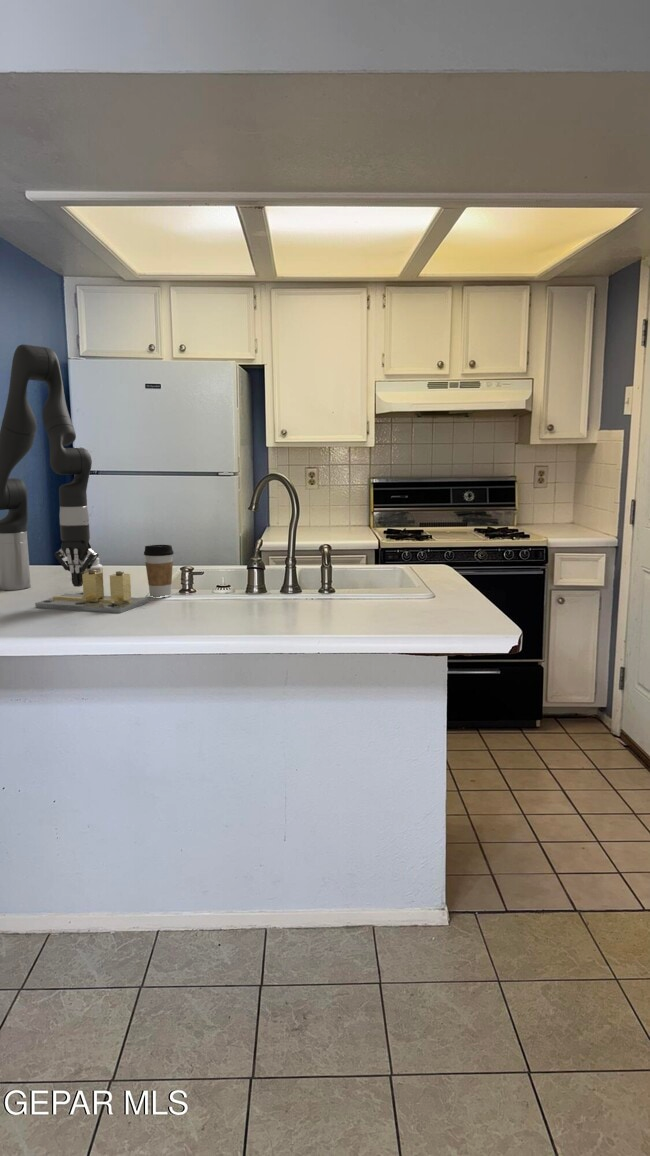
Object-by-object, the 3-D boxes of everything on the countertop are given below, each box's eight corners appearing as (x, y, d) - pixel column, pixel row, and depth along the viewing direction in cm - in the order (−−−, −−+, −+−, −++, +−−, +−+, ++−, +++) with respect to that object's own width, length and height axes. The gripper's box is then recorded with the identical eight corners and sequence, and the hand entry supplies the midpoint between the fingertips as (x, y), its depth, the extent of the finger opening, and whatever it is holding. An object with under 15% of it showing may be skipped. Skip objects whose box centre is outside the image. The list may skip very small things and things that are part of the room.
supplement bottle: (92, 590, 232) (90, 556, 230) (107, 591, 230) (105, 557, 228) (80, 593, 227) (78, 559, 225) (96, 594, 225) (94, 560, 223)
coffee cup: (140, 598, 219) (137, 546, 216) (153, 593, 227) (151, 542, 224) (167, 599, 217) (165, 547, 214) (180, 594, 225) (178, 543, 222)
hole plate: (35, 607, 207) (35, 602, 207) (67, 597, 221) (66, 593, 220) (120, 613, 200) (120, 608, 200) (147, 602, 213) (147, 598, 213)
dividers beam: (44, 601, 209) (42, 571, 208) (58, 597, 215) (56, 567, 214) (121, 606, 202) (120, 575, 201) (134, 601, 208) (133, 571, 207)
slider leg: (77, 602, 206) (75, 572, 205) (91, 598, 212) (89, 569, 211) (90, 603, 205) (88, 573, 204) (104, 598, 211) (102, 569, 210)
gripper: (44, 523, 206) (48, 587, 209) (87, 524, 202) (91, 589, 205) (61, 521, 213) (65, 582, 216) (103, 522, 209) (107, 585, 212)
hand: (78, 586), depth 210 cm, fingers closed
